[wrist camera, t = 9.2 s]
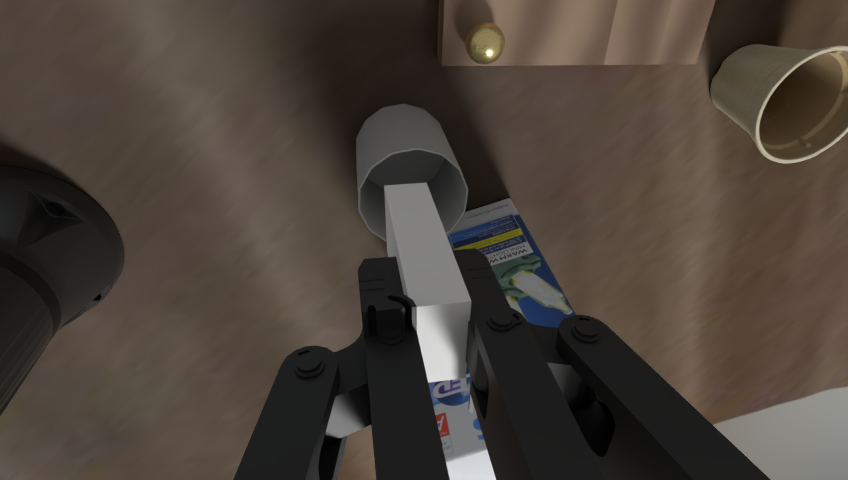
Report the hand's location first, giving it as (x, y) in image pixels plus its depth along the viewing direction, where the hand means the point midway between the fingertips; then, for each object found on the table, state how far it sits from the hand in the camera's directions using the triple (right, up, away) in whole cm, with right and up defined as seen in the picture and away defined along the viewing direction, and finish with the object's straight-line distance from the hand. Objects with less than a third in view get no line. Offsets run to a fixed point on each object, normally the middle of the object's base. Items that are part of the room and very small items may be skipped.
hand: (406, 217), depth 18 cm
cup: (-1, +8, +28) cm, 29 cm away
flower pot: (+30, +14, +28) cm, 44 cm away
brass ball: (+5, +14, +20) cm, 25 cm away
